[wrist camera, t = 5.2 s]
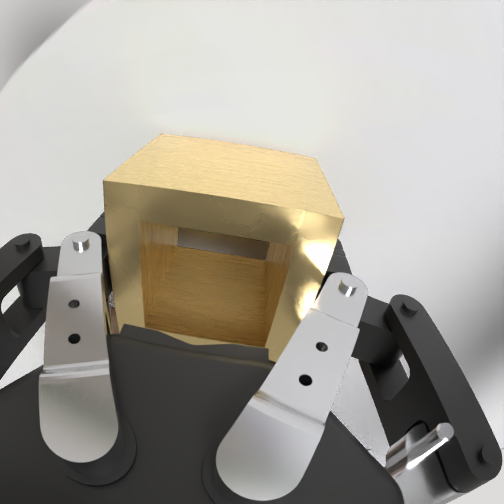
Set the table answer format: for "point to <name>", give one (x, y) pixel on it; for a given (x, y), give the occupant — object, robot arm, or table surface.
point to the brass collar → (223, 222)
